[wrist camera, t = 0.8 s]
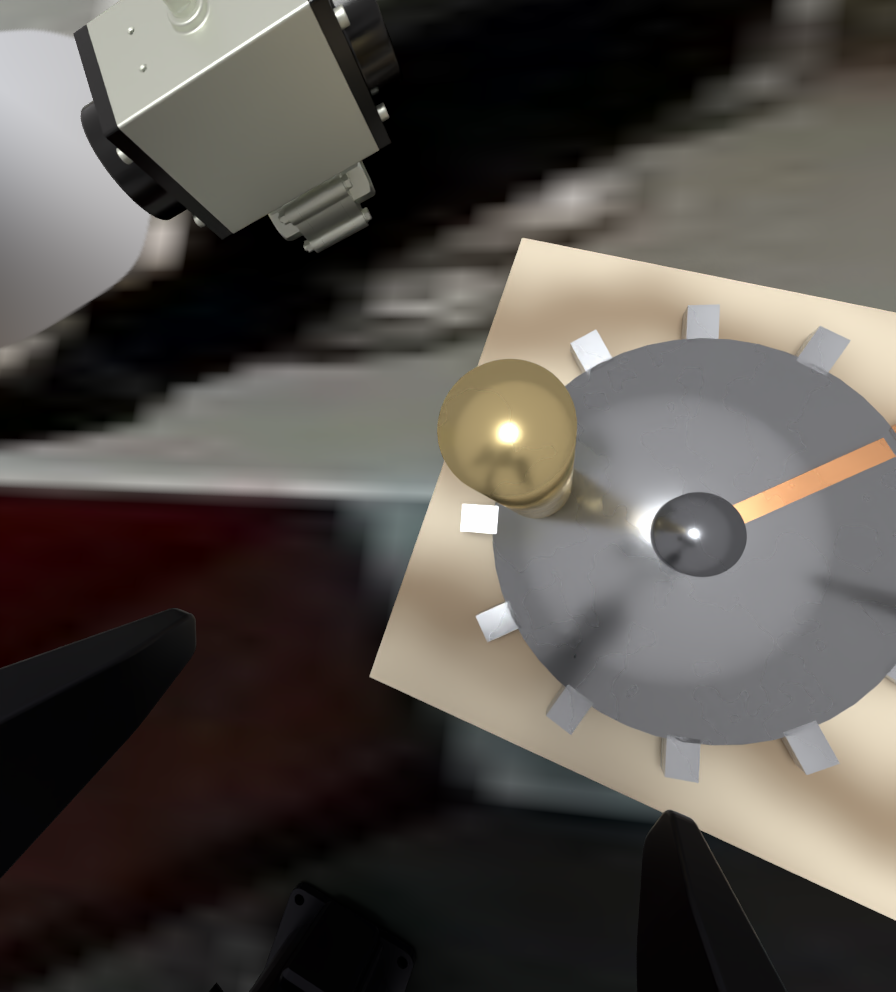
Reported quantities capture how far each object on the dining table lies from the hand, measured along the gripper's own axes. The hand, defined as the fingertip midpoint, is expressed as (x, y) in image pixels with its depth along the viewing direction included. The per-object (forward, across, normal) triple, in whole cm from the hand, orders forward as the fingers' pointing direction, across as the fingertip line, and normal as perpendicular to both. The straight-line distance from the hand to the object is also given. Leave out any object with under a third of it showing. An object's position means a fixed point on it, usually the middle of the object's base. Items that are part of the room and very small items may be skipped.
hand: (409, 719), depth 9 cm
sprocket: (+14, -7, +1) cm, 16 cm away
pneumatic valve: (+23, +14, -7) cm, 28 cm away
